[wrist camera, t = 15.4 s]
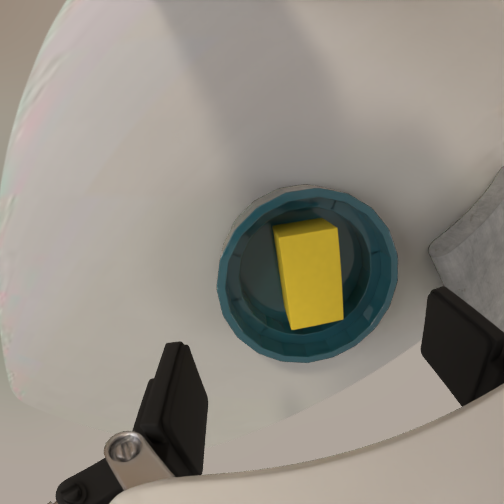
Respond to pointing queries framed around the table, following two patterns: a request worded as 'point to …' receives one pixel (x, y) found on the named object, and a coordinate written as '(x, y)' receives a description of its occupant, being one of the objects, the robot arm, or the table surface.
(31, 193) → the table surface
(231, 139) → the table surface
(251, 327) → the bowl
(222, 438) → the table surface
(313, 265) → the sponge
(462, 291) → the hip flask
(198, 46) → the table surface
